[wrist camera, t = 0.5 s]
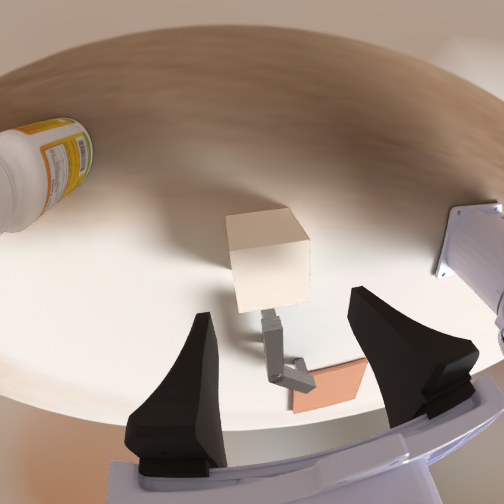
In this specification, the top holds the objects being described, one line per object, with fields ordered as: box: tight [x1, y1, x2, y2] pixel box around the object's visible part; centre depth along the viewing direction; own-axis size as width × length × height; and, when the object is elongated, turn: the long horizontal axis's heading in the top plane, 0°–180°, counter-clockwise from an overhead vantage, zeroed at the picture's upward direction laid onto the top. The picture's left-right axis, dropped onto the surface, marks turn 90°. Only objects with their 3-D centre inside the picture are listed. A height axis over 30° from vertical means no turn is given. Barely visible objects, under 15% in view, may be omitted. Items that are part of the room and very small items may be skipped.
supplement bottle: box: [0, 117, 93, 235], centre depth 11 cm, size 5×5×10 cm
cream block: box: [225, 208, 310, 313], centre depth 19 cm, size 4×4×5 cm
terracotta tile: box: [292, 358, 368, 414], centre depth 32 cm, size 9×9×1 cm
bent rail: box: [261, 308, 317, 394], centre depth 25 cm, size 5×10×4 cm, turn 5°
